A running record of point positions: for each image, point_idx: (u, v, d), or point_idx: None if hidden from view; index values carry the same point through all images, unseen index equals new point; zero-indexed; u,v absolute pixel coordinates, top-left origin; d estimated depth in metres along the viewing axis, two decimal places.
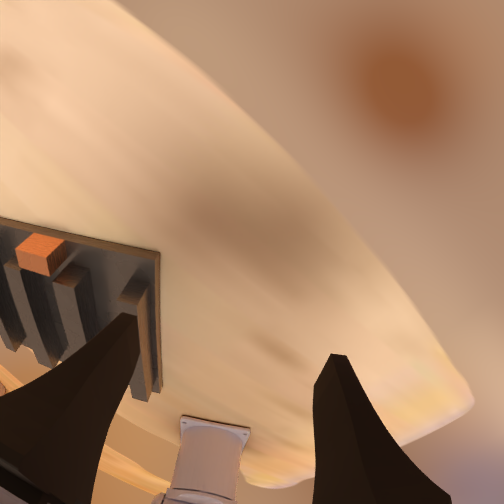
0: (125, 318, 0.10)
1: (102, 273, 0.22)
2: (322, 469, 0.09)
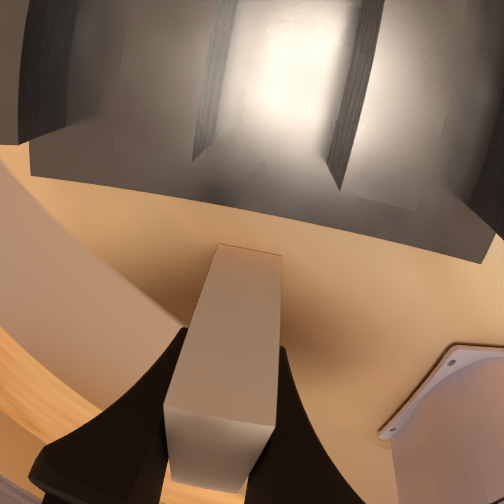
0: None
1: None
2: None
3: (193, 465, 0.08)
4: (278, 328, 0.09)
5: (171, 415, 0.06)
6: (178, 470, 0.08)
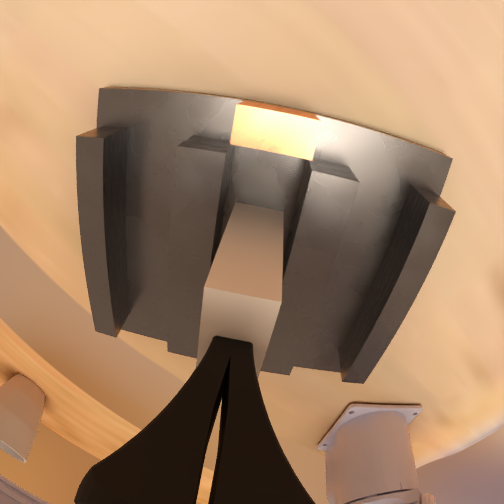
0: (224, 341, 0.10)
1: (368, 175, 0.14)
2: (217, 458, 0.09)
3: None
4: (281, 250, 0.12)
5: (208, 297, 0.10)
6: None
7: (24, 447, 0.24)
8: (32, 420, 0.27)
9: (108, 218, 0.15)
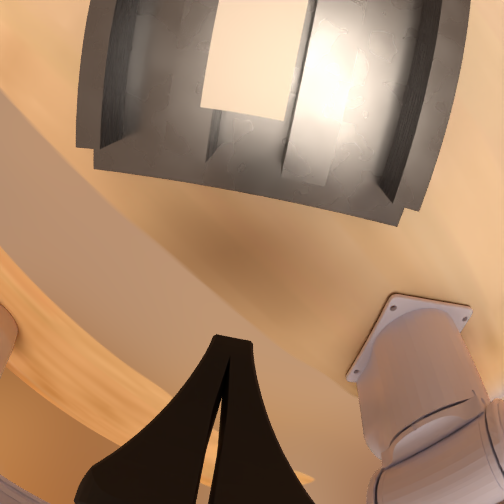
0: (224, 341, 0.10)
1: None
2: (216, 458, 0.09)
3: (240, 28, 0.07)
4: None
5: None
6: (218, 55, 0.08)
7: None
8: None
9: None
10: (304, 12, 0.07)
